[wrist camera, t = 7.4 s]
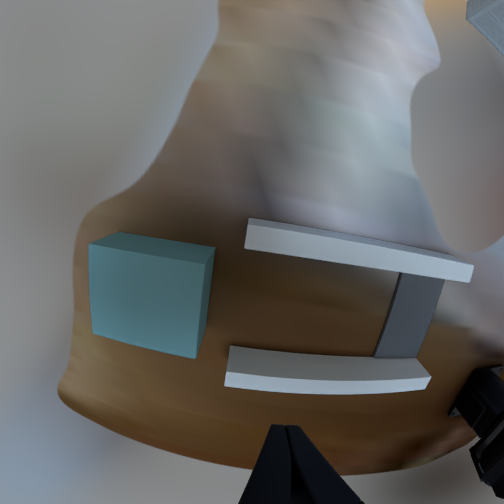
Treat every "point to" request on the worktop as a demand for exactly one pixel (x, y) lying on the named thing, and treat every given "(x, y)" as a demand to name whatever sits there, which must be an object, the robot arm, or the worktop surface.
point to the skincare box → (488, 20)
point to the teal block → (150, 291)
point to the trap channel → (394, 331)
